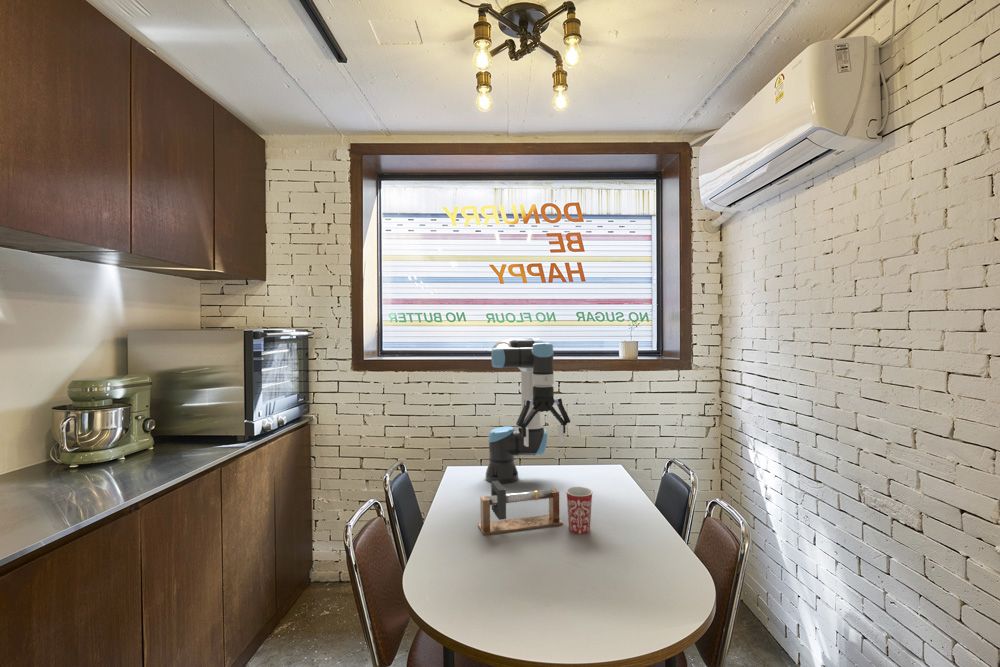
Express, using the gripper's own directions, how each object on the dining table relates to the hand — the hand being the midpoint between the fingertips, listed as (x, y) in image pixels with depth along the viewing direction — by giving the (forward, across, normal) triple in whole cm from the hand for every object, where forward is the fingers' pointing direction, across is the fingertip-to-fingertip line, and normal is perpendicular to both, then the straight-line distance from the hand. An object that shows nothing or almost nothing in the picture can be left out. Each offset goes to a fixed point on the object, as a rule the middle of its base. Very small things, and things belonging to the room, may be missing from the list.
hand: (543, 444), depth 172 cm
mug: (+28, +9, -10) cm, 31 cm away
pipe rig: (+28, -10, -2) cm, 29 cm away
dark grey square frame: (+23, -18, -1) cm, 29 cm away
